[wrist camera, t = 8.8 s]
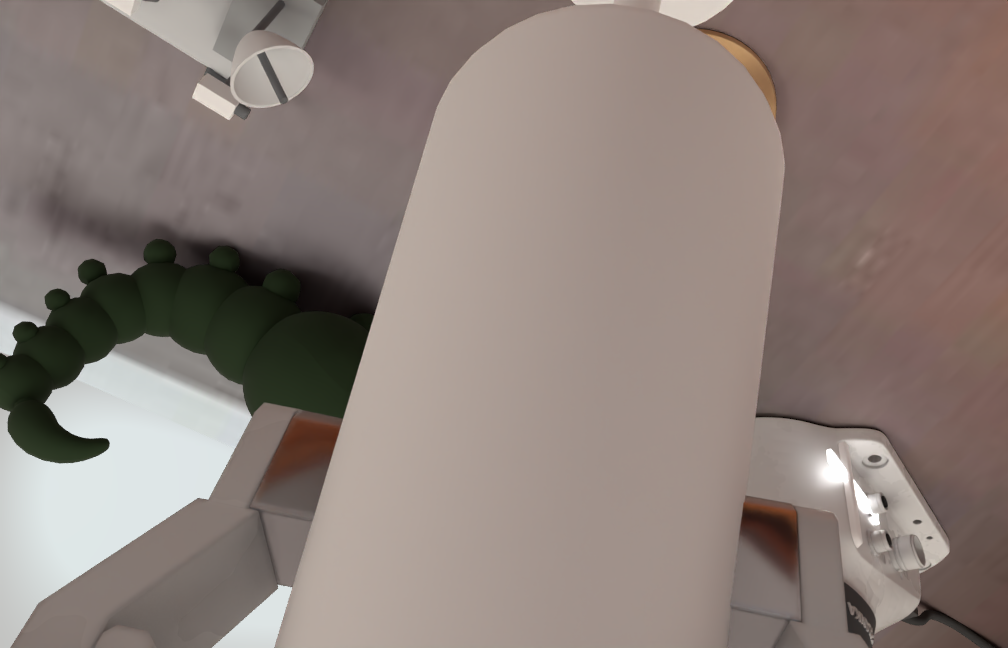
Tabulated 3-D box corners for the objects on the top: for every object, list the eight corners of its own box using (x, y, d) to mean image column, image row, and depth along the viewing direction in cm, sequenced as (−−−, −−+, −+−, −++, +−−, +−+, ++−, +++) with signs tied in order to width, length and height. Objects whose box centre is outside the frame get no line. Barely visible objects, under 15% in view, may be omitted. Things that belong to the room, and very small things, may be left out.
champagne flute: (705, -259, 23) (574, 549, 6) (810, -34, 26) (923, 903, 9) (497, -112, 26) (35, 660, 9) (612, 70, 29) (427, 886, 12)
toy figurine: (138, 270, 67) (441, 400, 67) (-41, 461, 53) (338, 623, 53) (135, 174, 60) (473, 319, 60) (-70, 365, 47) (363, 551, 47)
